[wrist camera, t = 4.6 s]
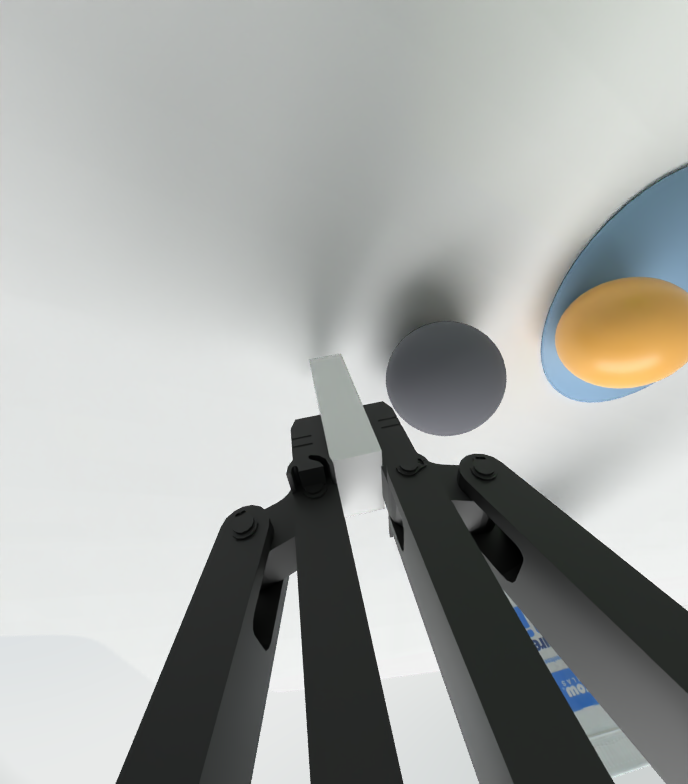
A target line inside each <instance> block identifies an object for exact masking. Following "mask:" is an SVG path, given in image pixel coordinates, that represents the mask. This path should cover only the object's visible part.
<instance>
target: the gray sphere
mask: <svg viewBox="0 0 688 784" xmlns="http://www.w3.org/2000/svg"><path fill="white" fill-rule="evenodd" d="M386 387H387V392H388V396H389V399H390V401H391V403H392V405H393V407H394V409H395V410H396V411H397V413H398V414H399V415H400V417H401V418H402V419H403V420H405V421H406V422H407V423H408V424H410V425H411V426H412V427H414V428H416V429H418V430H420V431H422V432H425V433H428V434H433V435H438V436H452V435H459V434H463V433H466V432H469V431H471V430H473V429H475V428H477V427H479V426H480V425H482V424H483V423H484V422H485V421H487V420H488V419H489V418H490V417H491V416H492V415H493V413H494V412H495V411H496V409H497V408H498V406H499V404H500V403H501V400H502V398H503V395H504V392H505V388H506V368H505V364H504V360H503V358H502V355H501V353H500V351H499V350H498V348H497V347H496V345H495V344H494V343H493V342H492V340H491V339H490V338H489V337H488V336H486V335H485V334H484V333H482V332H481V331H479V330H478V329H476V328H474V327H472V326H469V325H466V324H463V323H459V322H451V321H443V322H435V323H431V324H427V325H425V326H422V327H420V328H418V329H416V330H414V331H413V332H411V333H410V334H408V335H407V336H406V337H405V338H404V339H403V340H402V341H401V342H400V343H399V344H398V346H397V347H396V349H395V350H394V352H393V353H392V355H391V357H390V360H389V363H388V367H387V372H386Z"/></svg>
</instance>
